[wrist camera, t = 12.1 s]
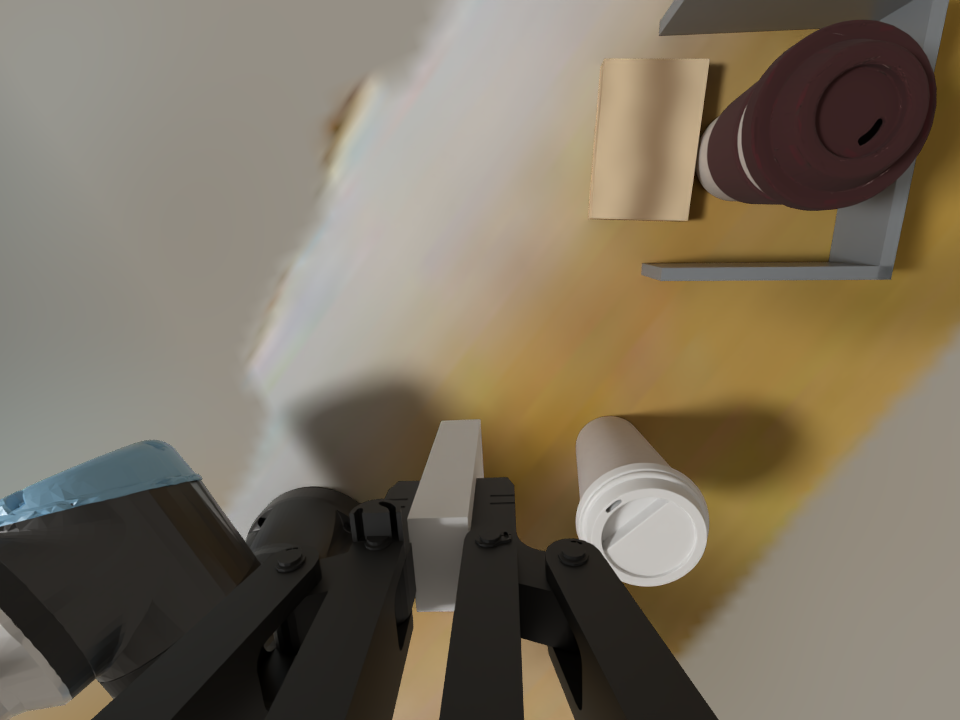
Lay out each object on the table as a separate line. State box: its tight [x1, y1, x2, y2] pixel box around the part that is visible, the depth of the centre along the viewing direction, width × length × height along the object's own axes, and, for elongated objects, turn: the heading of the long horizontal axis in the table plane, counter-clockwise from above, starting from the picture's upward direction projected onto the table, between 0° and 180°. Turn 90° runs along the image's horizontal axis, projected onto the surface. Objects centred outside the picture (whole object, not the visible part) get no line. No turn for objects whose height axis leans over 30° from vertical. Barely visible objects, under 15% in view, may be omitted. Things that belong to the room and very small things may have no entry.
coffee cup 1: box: [576, 416, 709, 586], centre depth 40 cm, size 10×10×15 cm
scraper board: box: [588, 59, 710, 222], centre depth 39 cm, size 8×12×2 cm, turn 178°
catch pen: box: [641, 0, 949, 281], centre depth 37 cm, size 17×20×6 cm
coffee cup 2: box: [695, 20, 937, 211], centre depth 32 cm, size 10×10×15 cm
